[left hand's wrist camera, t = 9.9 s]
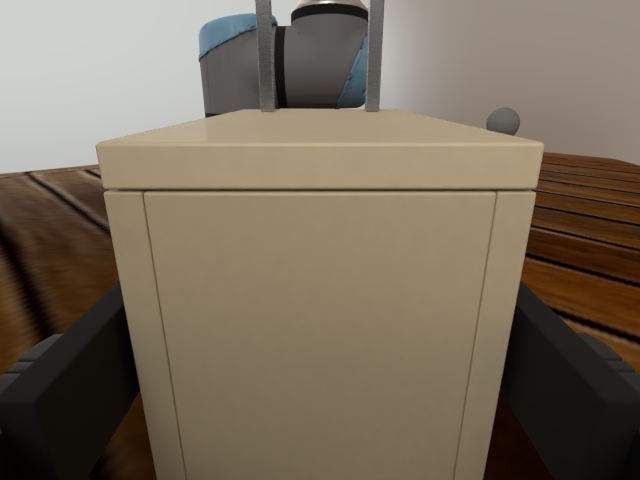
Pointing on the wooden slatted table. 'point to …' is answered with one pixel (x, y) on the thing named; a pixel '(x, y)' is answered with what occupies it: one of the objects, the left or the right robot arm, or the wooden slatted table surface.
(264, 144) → the lid
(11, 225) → the wooden slatted table surface
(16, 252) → the wooden slatted table surface
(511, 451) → the wooden slatted table surface
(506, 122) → the light bulb
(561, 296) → the wooden slatted table surface
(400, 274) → the chest
